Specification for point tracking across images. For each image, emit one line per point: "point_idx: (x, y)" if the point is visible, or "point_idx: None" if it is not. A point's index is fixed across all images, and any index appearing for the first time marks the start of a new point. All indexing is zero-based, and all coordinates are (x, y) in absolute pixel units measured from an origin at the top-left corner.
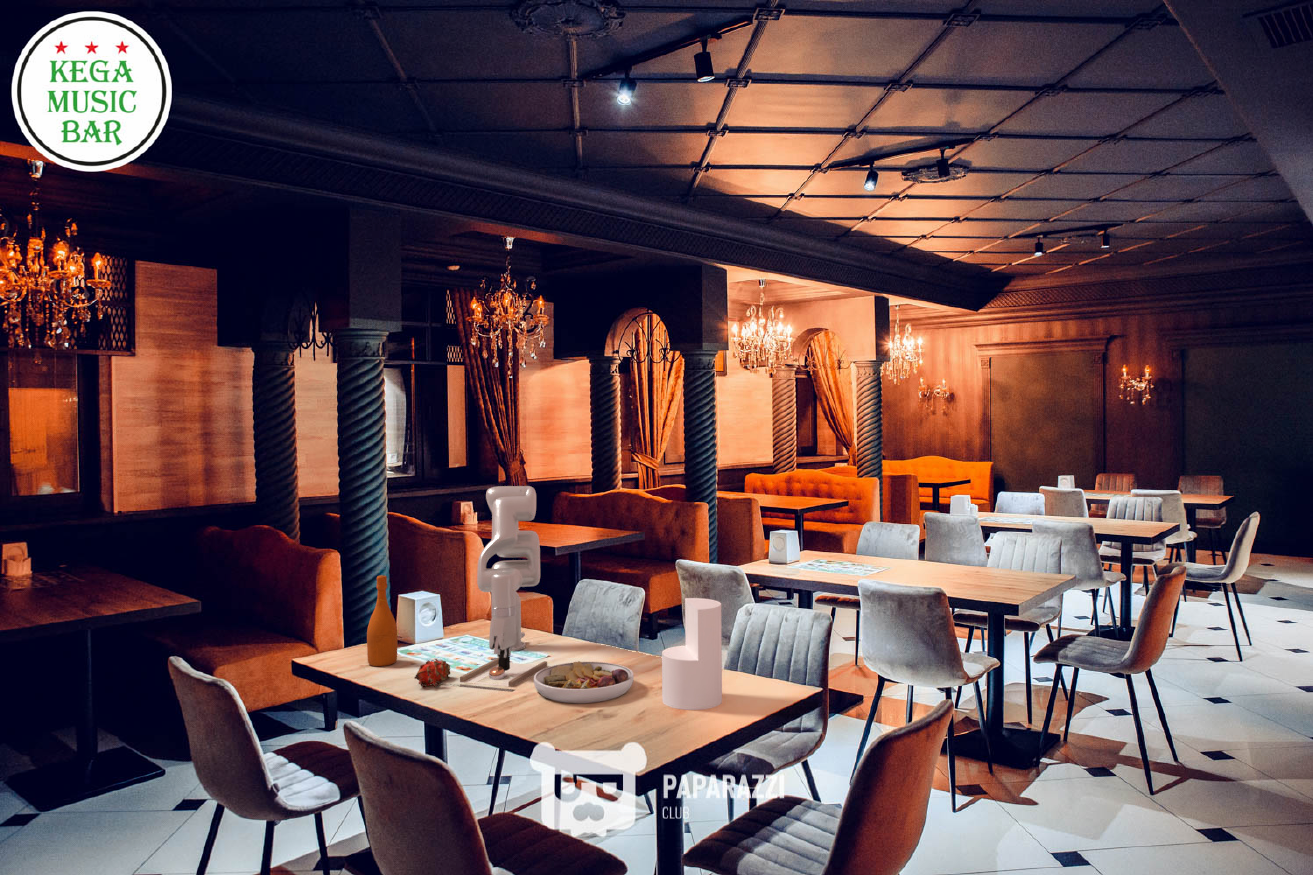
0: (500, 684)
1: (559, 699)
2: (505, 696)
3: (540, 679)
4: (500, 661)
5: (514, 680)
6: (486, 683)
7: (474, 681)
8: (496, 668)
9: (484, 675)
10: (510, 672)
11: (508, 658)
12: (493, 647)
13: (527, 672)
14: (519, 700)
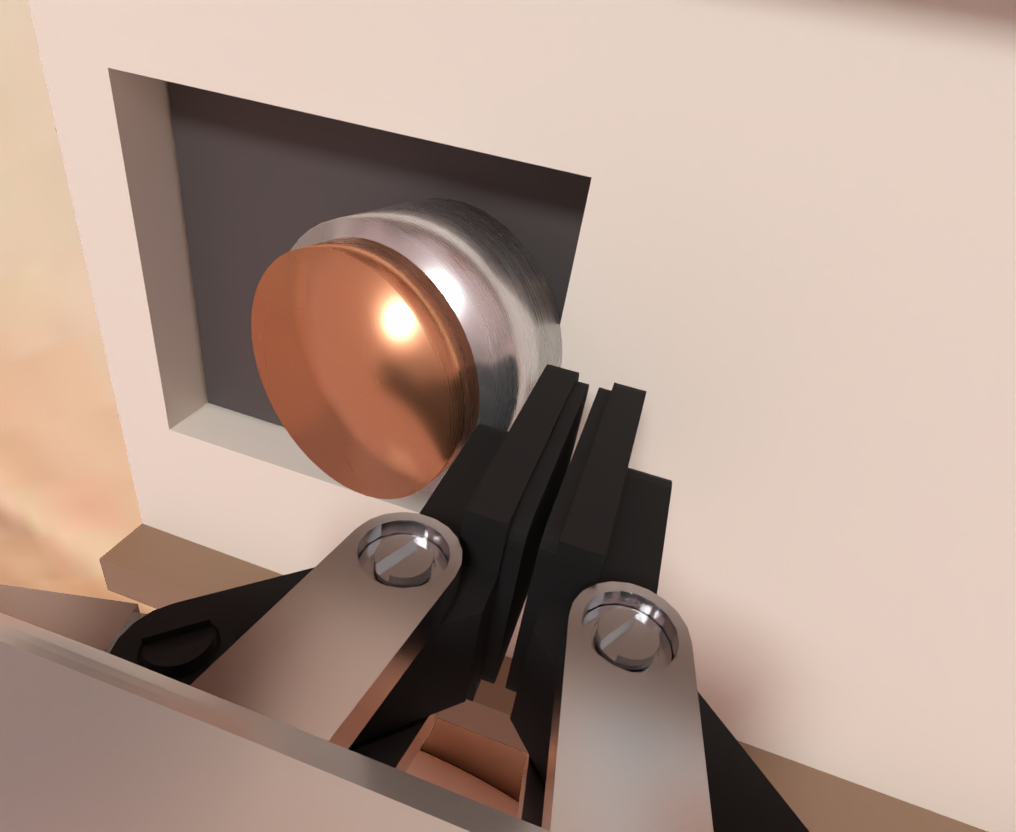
0: (163, 437)
1: None
2: (66, 482)
3: None
4: (432, 506)
5: (155, 607)
6: (116, 259)
7: (109, 11)
8: (388, 376)
9: (478, 58)
10: (702, 484)
11: (510, 681)
12: (40, 671)
13: (467, 721)
14: (52, 581)
